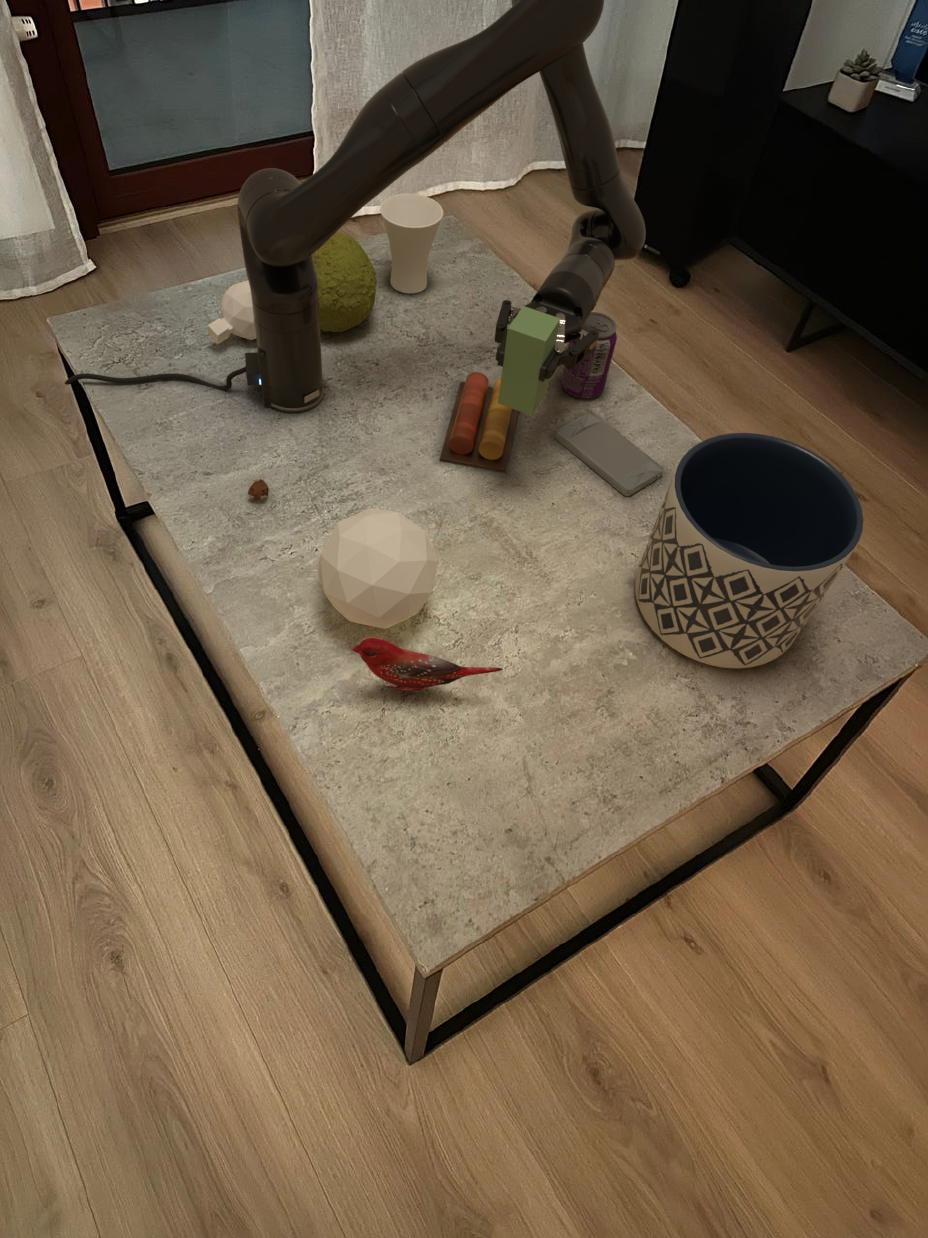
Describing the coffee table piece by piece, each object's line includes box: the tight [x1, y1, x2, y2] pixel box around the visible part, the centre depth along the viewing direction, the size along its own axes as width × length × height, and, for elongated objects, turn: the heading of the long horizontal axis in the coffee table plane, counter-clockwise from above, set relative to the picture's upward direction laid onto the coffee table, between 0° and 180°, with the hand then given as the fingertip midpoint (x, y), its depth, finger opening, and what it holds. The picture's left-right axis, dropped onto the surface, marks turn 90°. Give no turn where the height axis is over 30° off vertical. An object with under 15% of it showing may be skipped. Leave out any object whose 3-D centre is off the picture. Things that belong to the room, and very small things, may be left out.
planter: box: [634, 432, 865, 669], centre depth 113 cm, size 22×22×20 cm
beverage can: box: [560, 311, 618, 399], centre depth 141 cm, size 7×7×12 cm
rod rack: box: [439, 371, 520, 474], centre depth 136 cm, size 18×10×4 cm, turn 170°
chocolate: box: [247, 473, 272, 501], centre depth 124 cm, size 3×2×4 cm
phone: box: [554, 411, 664, 497], centre depth 136 cm, size 8×16×1 cm, turn 40°
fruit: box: [312, 232, 378, 333], centre depth 146 cm, size 16×14×15 cm
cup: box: [379, 193, 444, 294], centre depth 153 cm, size 10×10×14 cm
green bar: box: [498, 305, 560, 417], centre depth 115 cm, size 5×5×12 cm
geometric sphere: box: [317, 507, 439, 630], centre depth 111 cm, size 14×15×15 cm
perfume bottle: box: [207, 279, 256, 345], centre depth 143 cm, size 9×9×12 cm
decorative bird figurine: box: [350, 637, 504, 692], centre depth 105 cm, size 3×18×10 cm, turn 88°
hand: (521, 367), depth 113 cm, fingers closed on green bar, 5 cm apart
